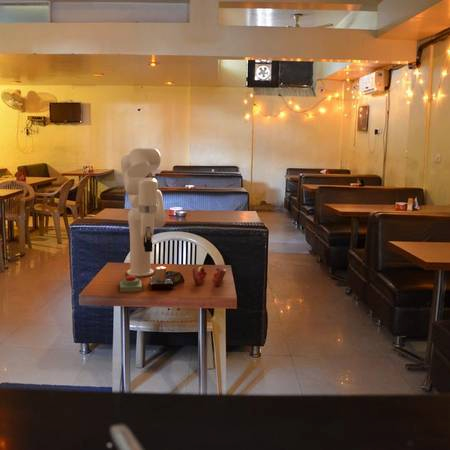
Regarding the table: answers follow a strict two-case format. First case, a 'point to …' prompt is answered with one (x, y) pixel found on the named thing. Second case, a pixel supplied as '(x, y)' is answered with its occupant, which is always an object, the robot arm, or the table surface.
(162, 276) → the dial
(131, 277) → the lid button
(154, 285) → the dial panel
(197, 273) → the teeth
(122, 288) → the button base
